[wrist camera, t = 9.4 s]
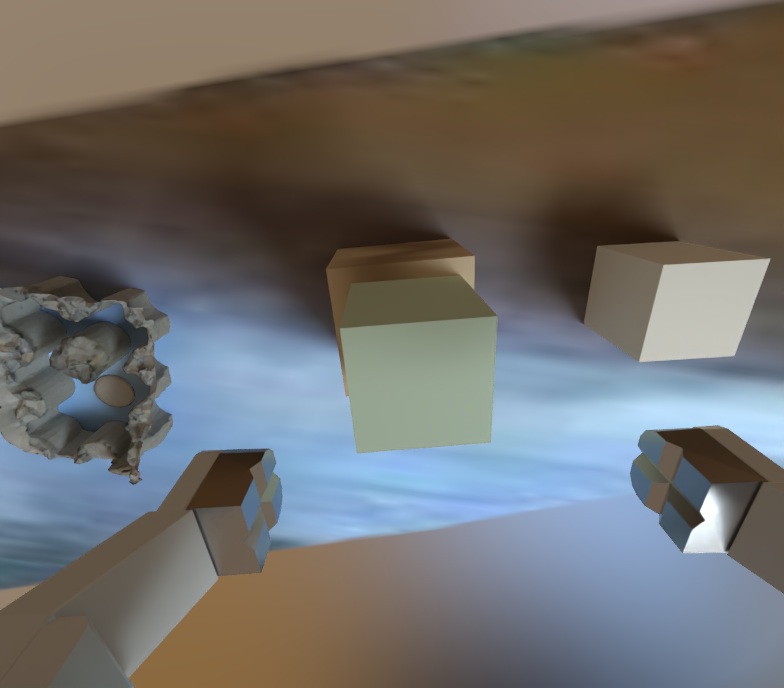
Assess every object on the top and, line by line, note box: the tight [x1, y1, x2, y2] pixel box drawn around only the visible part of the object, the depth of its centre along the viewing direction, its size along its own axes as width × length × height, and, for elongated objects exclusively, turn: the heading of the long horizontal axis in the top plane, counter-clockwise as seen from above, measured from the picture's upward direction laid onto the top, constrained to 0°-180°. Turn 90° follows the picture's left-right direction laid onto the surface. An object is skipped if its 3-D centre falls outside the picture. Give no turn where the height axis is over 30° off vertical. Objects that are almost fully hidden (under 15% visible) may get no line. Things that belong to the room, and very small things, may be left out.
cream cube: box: [584, 241, 770, 362], centre depth 18 cm, size 4×4×5 cm
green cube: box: [340, 275, 498, 453], centre depth 14 cm, size 4×4×5 cm
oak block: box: [326, 239, 475, 396], centre depth 18 cm, size 6×6×5 cm
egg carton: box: [0, 276, 173, 485], centre depth 20 cm, size 11×8×4 cm
